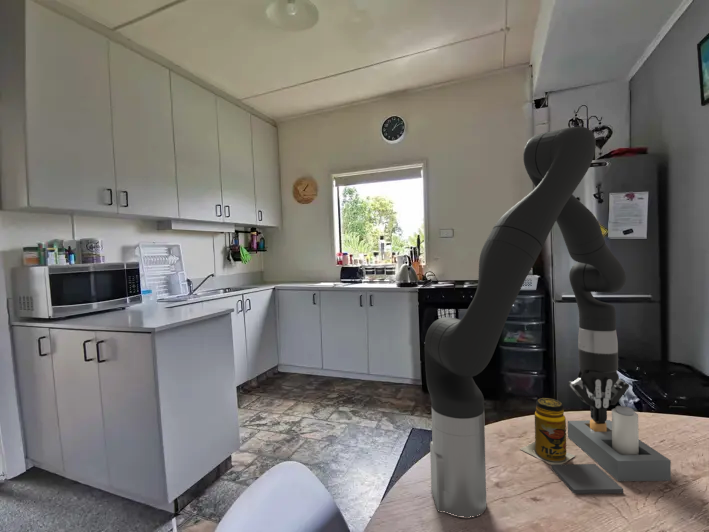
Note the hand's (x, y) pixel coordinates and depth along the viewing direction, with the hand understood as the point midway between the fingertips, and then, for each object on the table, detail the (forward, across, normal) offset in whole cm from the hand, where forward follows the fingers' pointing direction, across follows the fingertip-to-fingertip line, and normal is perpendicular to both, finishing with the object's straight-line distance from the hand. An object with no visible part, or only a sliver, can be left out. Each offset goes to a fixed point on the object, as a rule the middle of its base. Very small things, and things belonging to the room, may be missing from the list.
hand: (598, 422), depth 82 cm
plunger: (+5, 0, 0) cm, 5 cm away
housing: (+5, 0, -5) cm, 7 cm away
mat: (+5, -11, -13) cm, 18 cm away
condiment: (+6, -14, -3) cm, 15 cm away
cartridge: (+5, 0, -8) cm, 10 cm away
